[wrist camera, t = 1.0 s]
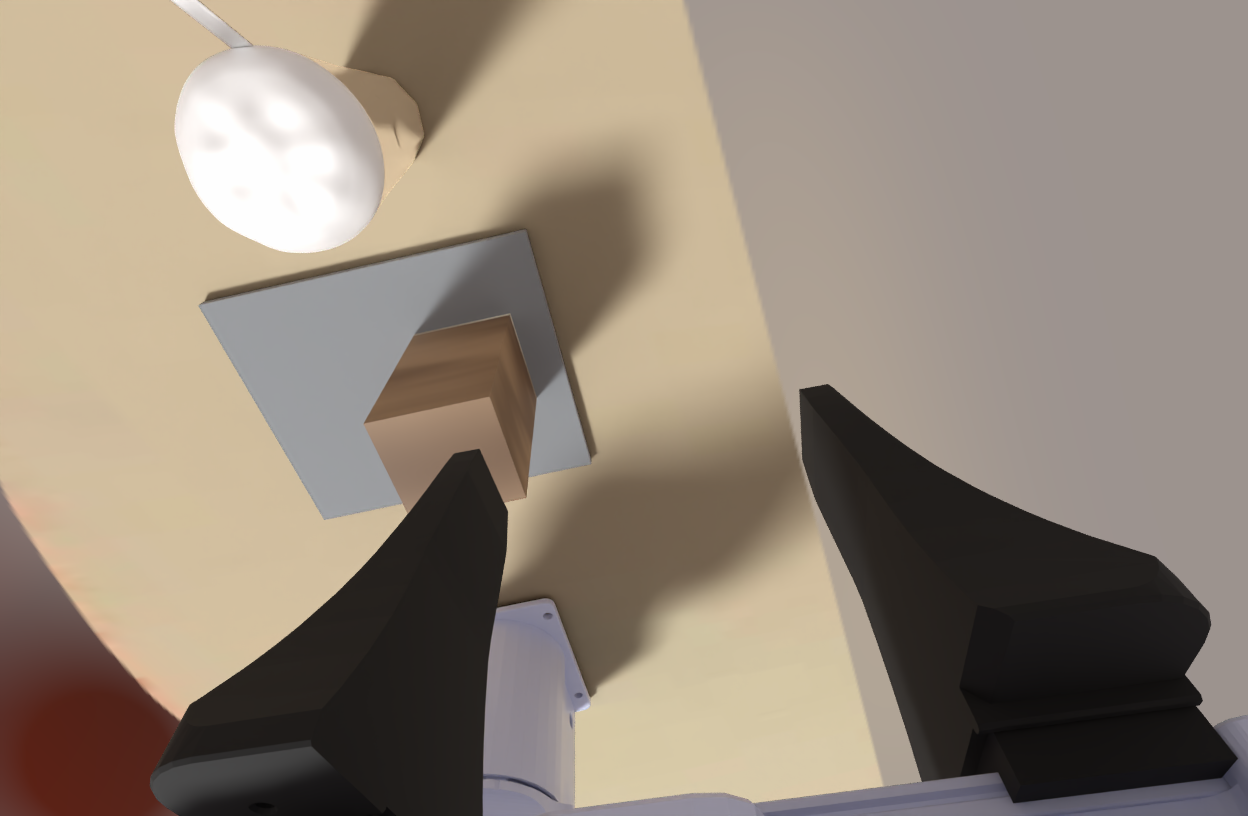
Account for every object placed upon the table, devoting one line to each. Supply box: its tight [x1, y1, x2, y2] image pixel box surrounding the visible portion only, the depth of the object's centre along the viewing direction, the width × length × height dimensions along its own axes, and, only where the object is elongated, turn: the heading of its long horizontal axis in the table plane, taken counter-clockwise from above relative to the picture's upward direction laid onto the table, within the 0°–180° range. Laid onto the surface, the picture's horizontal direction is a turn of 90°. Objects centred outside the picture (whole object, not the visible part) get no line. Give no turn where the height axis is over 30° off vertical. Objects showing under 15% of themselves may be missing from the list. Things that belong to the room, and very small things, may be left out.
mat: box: [198, 229, 591, 520], centre depth 26 cm, size 11×13×1 cm
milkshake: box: [170, 0, 425, 253], centre depth 17 cm, size 4×5×10 cm
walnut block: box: [364, 313, 537, 513], centre depth 23 cm, size 4×4×7 cm
